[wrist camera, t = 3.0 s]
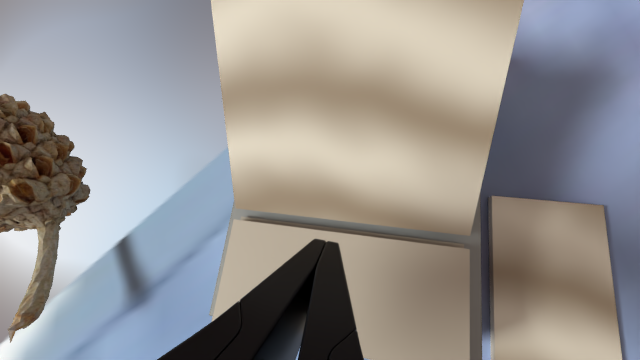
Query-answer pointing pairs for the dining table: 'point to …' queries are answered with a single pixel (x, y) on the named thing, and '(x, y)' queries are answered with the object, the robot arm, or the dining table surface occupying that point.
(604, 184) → the dining table surface
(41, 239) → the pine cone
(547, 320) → the plank
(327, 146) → the board
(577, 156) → the dining table surface
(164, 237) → the dining table surface
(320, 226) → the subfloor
